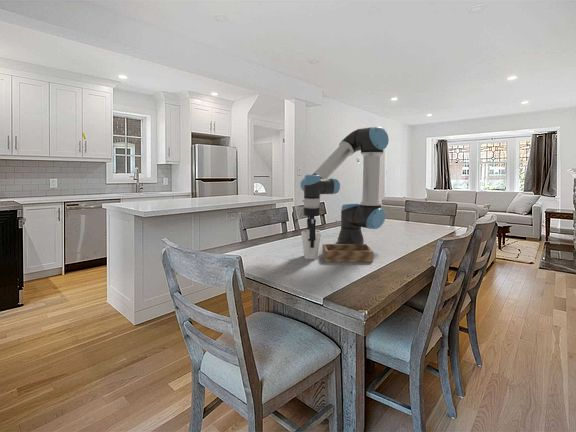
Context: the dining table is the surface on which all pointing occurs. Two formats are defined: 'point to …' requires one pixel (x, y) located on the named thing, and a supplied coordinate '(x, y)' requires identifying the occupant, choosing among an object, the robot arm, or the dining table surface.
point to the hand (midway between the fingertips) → (310, 250)
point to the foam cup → (306, 244)
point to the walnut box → (347, 253)
